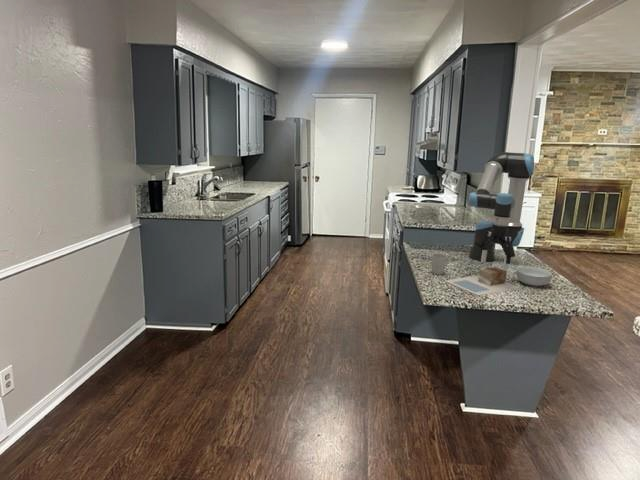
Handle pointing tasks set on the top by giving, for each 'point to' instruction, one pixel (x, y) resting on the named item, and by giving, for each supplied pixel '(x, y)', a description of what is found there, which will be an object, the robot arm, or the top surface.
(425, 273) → the top surface
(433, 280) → the top surface
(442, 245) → the top surface
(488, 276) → the block
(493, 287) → the mat
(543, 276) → the cereal bowl
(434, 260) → the cup
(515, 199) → the robot arm
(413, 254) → the top surface
